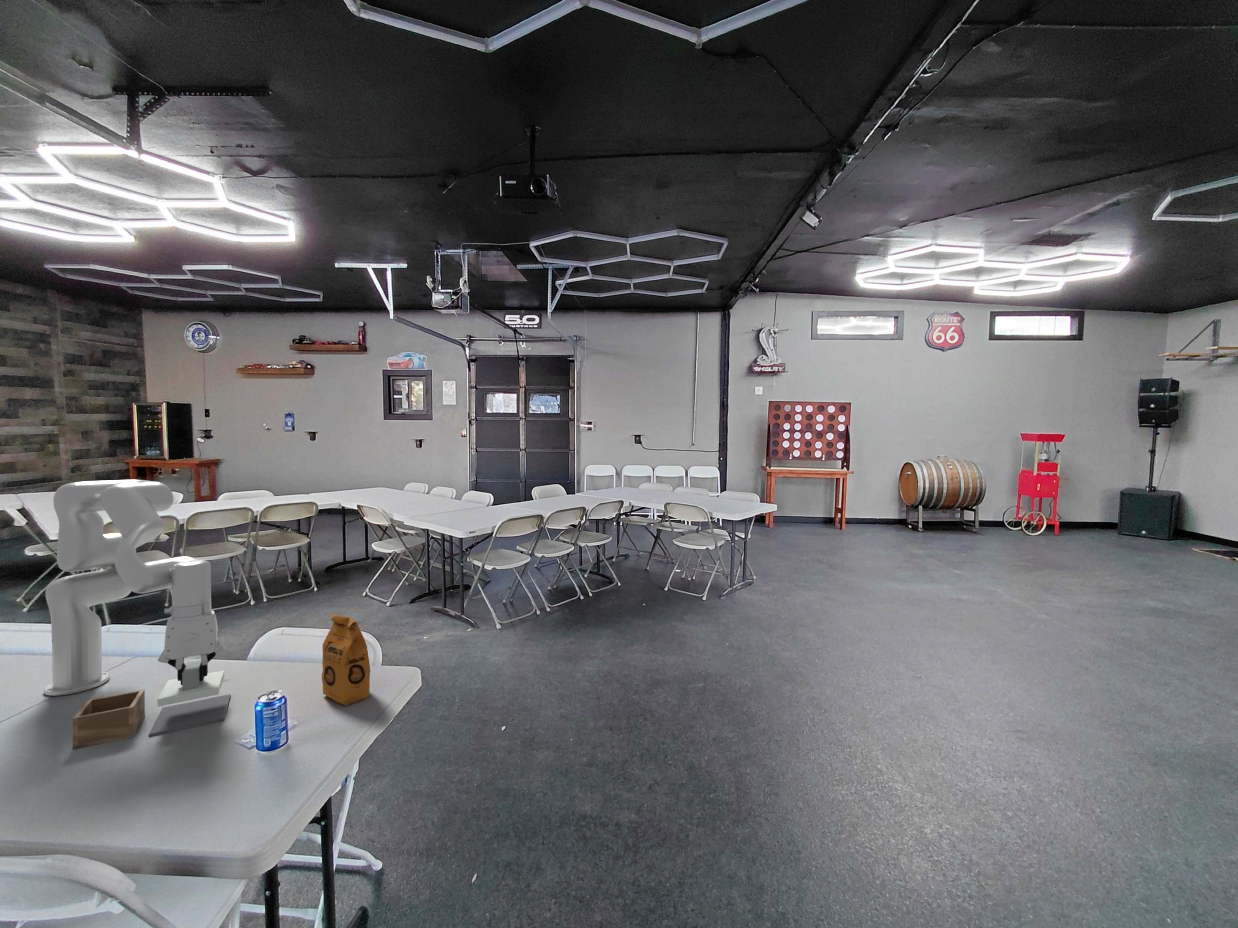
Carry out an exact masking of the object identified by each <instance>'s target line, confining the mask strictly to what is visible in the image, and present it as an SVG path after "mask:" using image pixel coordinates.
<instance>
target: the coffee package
mask: <svg viewBox="0 0 1238 928" xmlns="http://www.w3.org/2000/svg"><path fill="white" fill-rule="evenodd" d="M330 621H331V622H333V623H332V624H331V627H330V629H329V631H328V632H327V635H326V636H325V639H324V641H323V643H322V663H321V664H322V673H321V681H322V695H325V696H326V697H327V698H330V699H332V700H333V701H334V702H336V703H338V704H342V705H343V706H349V705H351V704H355V703H358V702H359V701H362V700H365V699H367V698H369V697H370V695H371V694H370V690H371V689H370V687H371V686H370V685H371V684H370V683H371V682H370V678H371V664H370V658H369V657H370V656H369V650H368V645H367V643H366V639H365V637H364V635H363V633H362V631H361V629H360V627H359V625H358V622H357V621H355V620H354V619H352V618H351V617H347V616H344V615H339V614H334V615H333V616H331V619H330Z"/></svg>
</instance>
